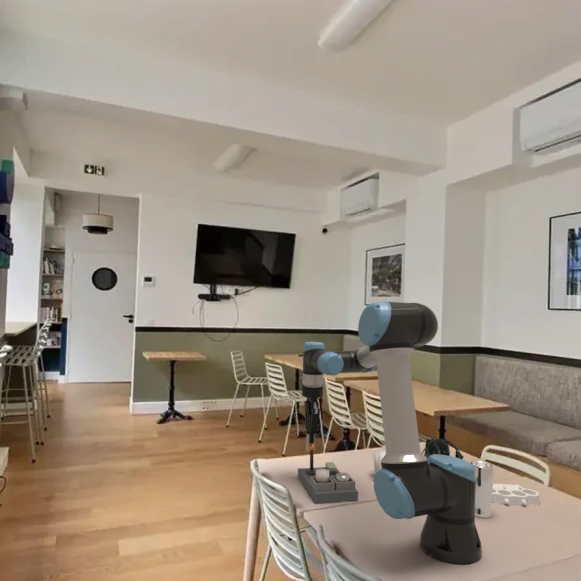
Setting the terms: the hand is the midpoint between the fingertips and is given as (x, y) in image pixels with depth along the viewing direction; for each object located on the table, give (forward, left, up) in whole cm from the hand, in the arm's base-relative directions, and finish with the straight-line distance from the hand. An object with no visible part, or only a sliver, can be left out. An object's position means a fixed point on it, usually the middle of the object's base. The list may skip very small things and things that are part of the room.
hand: (310, 451), depth 173 cm
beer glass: (-36, -44, -10) cm, 58 cm away
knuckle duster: (-26, -61, -11) cm, 67 cm away
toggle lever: (-3, 0, -6) cm, 7 cm away
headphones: (+8, -56, -11) cm, 58 cm away
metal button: (-16, -7, -6) cm, 18 cm away
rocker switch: (-3, -7, -6) cm, 10 cm away
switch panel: (-9, -3, -10) cm, 14 cm away
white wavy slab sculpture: (-12, -31, -10) cm, 35 cm away
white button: (-16, 0, -5) cm, 16 cm away
